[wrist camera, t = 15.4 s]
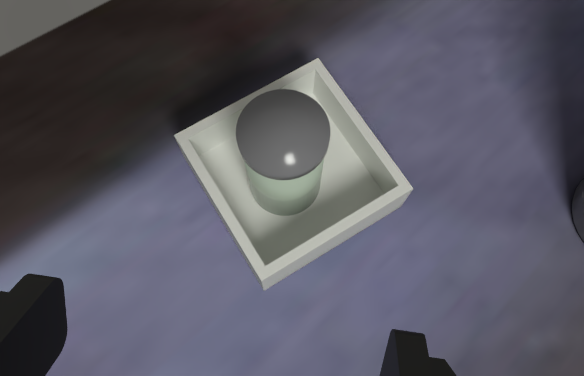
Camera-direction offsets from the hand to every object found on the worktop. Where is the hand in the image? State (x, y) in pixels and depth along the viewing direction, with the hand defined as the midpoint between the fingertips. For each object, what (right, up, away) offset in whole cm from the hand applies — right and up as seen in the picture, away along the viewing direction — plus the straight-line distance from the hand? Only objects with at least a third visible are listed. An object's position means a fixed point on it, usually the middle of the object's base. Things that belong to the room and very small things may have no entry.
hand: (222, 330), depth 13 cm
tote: (+2, +4, +34) cm, 34 cm away
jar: (+1, +4, +33) cm, 33 cm away
